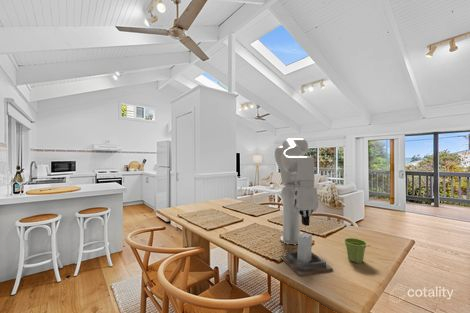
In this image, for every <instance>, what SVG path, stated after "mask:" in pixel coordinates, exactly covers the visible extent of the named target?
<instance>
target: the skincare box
mask: <svg viewBox="0 0 470 313" xmlns="http://www.w3.org/2000/svg"><path fill="white" fill-rule="evenodd" d="M312 236H313V235H312V234H311V233H307V232H302V233H300V235H299V236H298V245H297V252H298V254H297V261H299V262H300V263H301V264H308V263H309V262H310V261H311V252H312V249H313V248H312V243H313V240H312V238H313V237H312Z"/></svg>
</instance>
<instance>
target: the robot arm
mask: <svg viewBox="0 0 470 313" xmlns="http://www.w3.org/2000/svg"><path fill="white" fill-rule="evenodd" d="M308 144H309V143H308V141H307V140H306V139H304V138H287V139H285V140H283V142H282V145H281V146H278V147H276V148H275V150H274V159H275V162H276V165H277V166H278V168H279V172H280V177H281V182H282V185H283V186H284V187H282V189H281V200H282V230H281V233H282V235H281V236H280V238H279V239H280V241H282V242H281V243H283V242H285V243H288V244H287V245H289V244H298V236H299V235H300V234H301V224H302V225H303V226H305V227H308V226H310V217H311V216H312V213H314V212H316V211H317V209H318V208H319V194H318V190H317V187H316V186H315V158H314V157H313V156H304V155H306V153H307V151H308V149H309V145H308ZM285 243H284V244H285Z"/></svg>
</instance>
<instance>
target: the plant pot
mask: <svg viewBox="0 0 470 313" xmlns="http://www.w3.org/2000/svg"><path fill="white" fill-rule="evenodd" d="M343 242H344V243H345V246H346V253H347V259H348V261H350V262H354V263H355V264H356V263H357V264H361V263H362V262H364V258H365V251H366V248H367V245H368V243H367V241H365V240H362V239H361V238H360V239H359V238H354V237H347V238H344V240H343Z"/></svg>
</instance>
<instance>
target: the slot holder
mask: <svg viewBox="0 0 470 313" xmlns="http://www.w3.org/2000/svg"><path fill="white" fill-rule="evenodd" d="M297 254H298V251H291V252H286V253H285V255H281V256H280V258H281V257H282V258H283V260H282V261H283V262H284V263H285V264H286V265H287V266H288V267H289V268H290V269H291V270H292V271H294V273H296V274H297V275H298V276H299V277H304V276H305V277H306V276H310V275H316V274H323V273H328V272H332V271H333V270H334V268H333V267H332V266H330V265H329V264H328V263H327V261H325V260H324V259H323V258H321V257H320V256H318V255H317V254H315V253H314V252H313V251H311V261H310V262H309V263H308V264H301V263H300V262H299V261H297Z"/></svg>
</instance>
